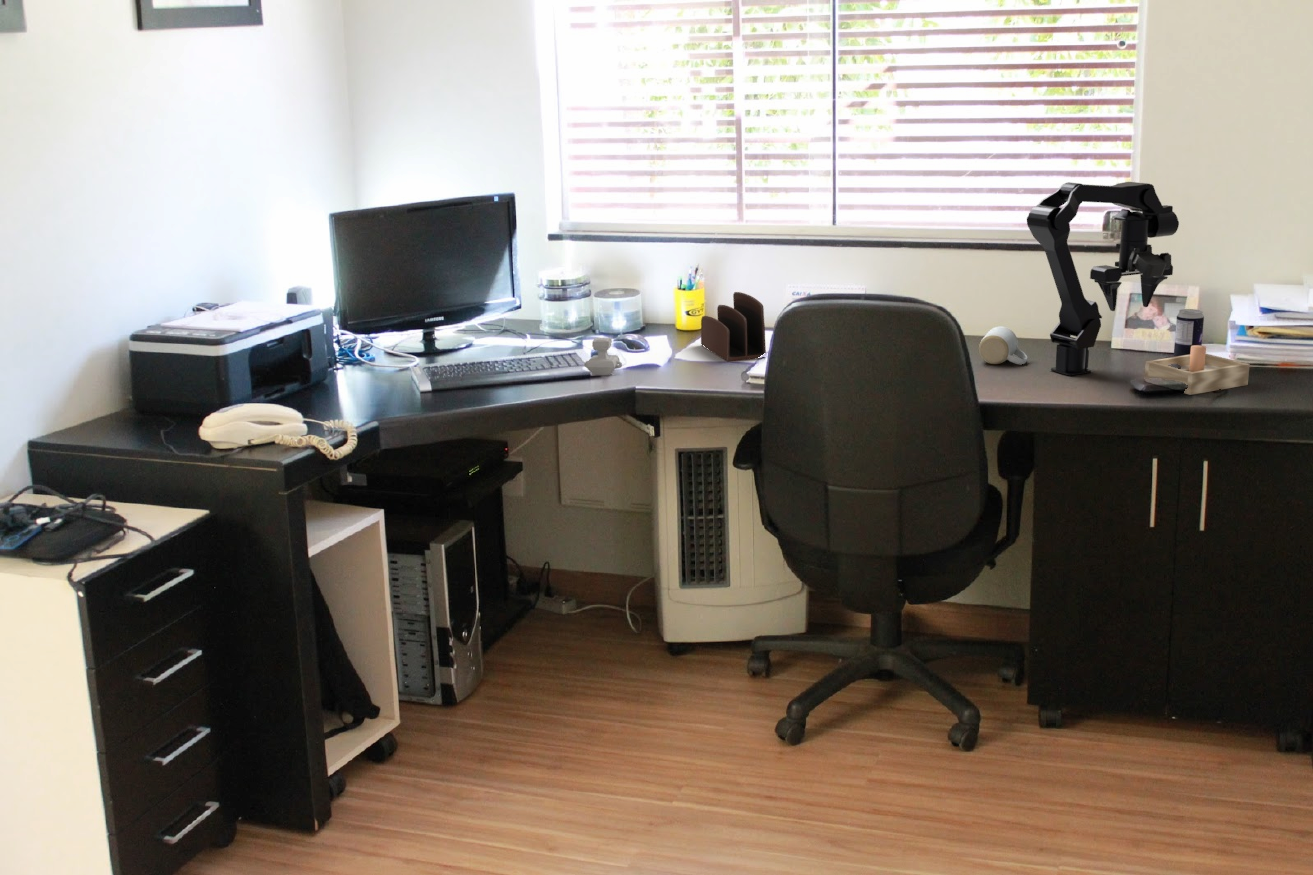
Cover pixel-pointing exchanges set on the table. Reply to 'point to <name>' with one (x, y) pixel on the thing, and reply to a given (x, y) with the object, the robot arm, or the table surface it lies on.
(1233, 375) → the tray
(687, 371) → the table surface
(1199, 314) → the beverage can
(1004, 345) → the ceramic mug
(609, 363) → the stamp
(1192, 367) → the peg
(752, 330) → the letter holder
